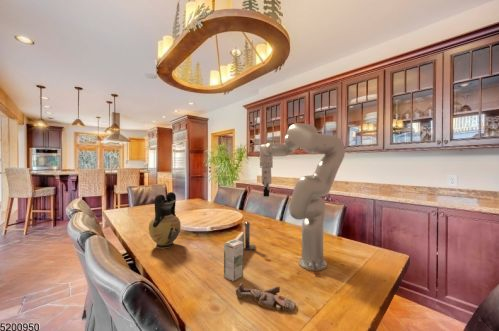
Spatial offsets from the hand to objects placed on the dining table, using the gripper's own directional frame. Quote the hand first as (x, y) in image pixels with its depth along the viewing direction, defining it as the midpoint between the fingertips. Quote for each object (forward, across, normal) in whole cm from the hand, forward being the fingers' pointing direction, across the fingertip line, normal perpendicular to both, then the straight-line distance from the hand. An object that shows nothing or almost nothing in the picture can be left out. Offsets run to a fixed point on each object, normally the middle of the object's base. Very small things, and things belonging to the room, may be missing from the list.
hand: (266, 196), depth 133 cm
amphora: (+27, -16, +56) cm, 64 cm away
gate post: (+27, -12, +8) cm, 31 cm away
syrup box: (+27, -43, +9) cm, 52 cm away
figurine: (+28, -57, -6) cm, 64 cm away
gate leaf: (+27, -20, +13) cm, 36 cm away
